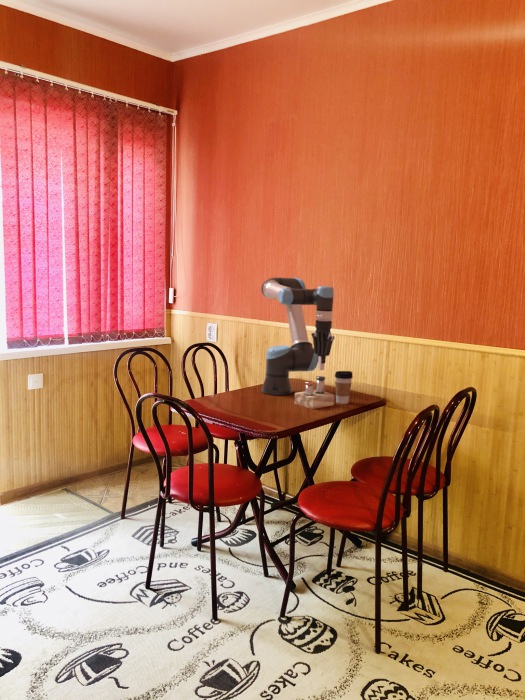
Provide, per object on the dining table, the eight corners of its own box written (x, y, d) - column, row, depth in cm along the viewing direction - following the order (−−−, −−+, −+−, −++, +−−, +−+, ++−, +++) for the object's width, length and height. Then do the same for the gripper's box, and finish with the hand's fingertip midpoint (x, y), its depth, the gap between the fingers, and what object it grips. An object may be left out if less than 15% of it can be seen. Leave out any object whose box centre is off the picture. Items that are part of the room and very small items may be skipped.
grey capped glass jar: (313, 395, 269) (314, 376, 268) (319, 394, 272) (320, 375, 271) (319, 397, 266) (320, 378, 265) (326, 396, 269) (327, 377, 268)
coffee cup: (350, 405, 268) (352, 373, 266) (332, 403, 270) (334, 372, 267) (351, 401, 276) (353, 370, 274) (334, 399, 278) (335, 369, 276)
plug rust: (302, 400, 265) (303, 381, 264) (308, 399, 268) (309, 380, 266) (308, 402, 262) (309, 383, 261) (315, 401, 265) (316, 382, 263)
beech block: (294, 403, 268) (294, 392, 267) (315, 399, 276) (316, 389, 276) (312, 408, 258) (312, 398, 258) (333, 404, 267) (334, 394, 267)
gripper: (308, 318, 266) (305, 368, 270) (328, 321, 256) (325, 373, 260) (319, 318, 271) (316, 366, 275) (339, 321, 261) (336, 371, 265)
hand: (320, 369), depth 268 cm, fingers closed
